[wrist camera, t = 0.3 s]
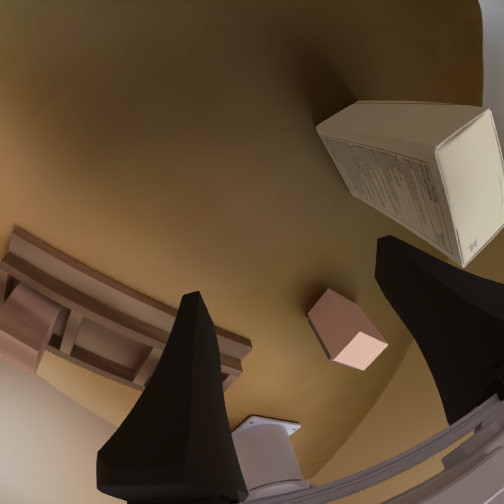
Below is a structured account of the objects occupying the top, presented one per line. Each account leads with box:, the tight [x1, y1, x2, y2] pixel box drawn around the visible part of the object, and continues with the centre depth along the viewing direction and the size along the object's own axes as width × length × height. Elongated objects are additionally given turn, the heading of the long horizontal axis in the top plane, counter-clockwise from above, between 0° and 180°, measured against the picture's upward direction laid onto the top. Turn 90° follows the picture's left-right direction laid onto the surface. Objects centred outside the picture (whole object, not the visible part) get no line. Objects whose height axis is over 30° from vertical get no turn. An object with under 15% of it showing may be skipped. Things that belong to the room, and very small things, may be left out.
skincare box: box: [316, 101, 504, 267], centre depth 15 cm, size 6×4×12 cm
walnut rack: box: [0, 227, 252, 392], centre depth 20 cm, size 10×22×7 cm, turn 56°
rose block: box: [308, 288, 388, 370], centre depth 24 cm, size 3×4×6 cm
